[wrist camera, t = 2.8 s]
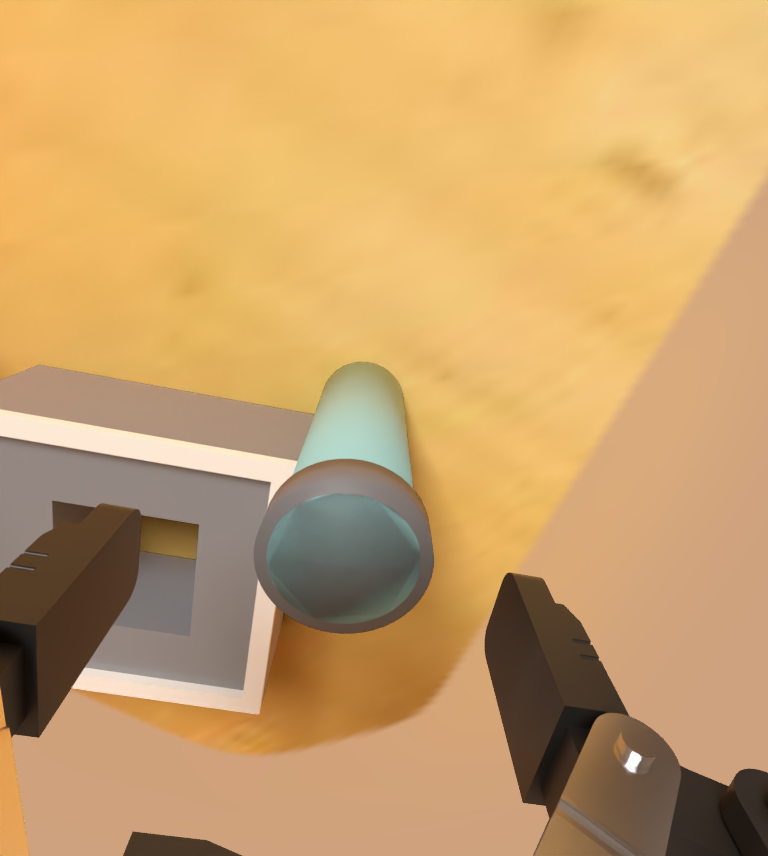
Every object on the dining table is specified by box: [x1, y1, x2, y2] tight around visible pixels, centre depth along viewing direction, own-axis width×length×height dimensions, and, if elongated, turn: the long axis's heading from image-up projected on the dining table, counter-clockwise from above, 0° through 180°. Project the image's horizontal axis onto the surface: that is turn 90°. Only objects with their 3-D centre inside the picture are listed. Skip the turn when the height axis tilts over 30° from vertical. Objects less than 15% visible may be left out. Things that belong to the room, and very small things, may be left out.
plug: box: [254, 362, 434, 634], centre depth 18 cm, size 4×4×12 cm
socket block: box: [0, 365, 314, 715], centre depth 23 cm, size 12×12×5 cm
